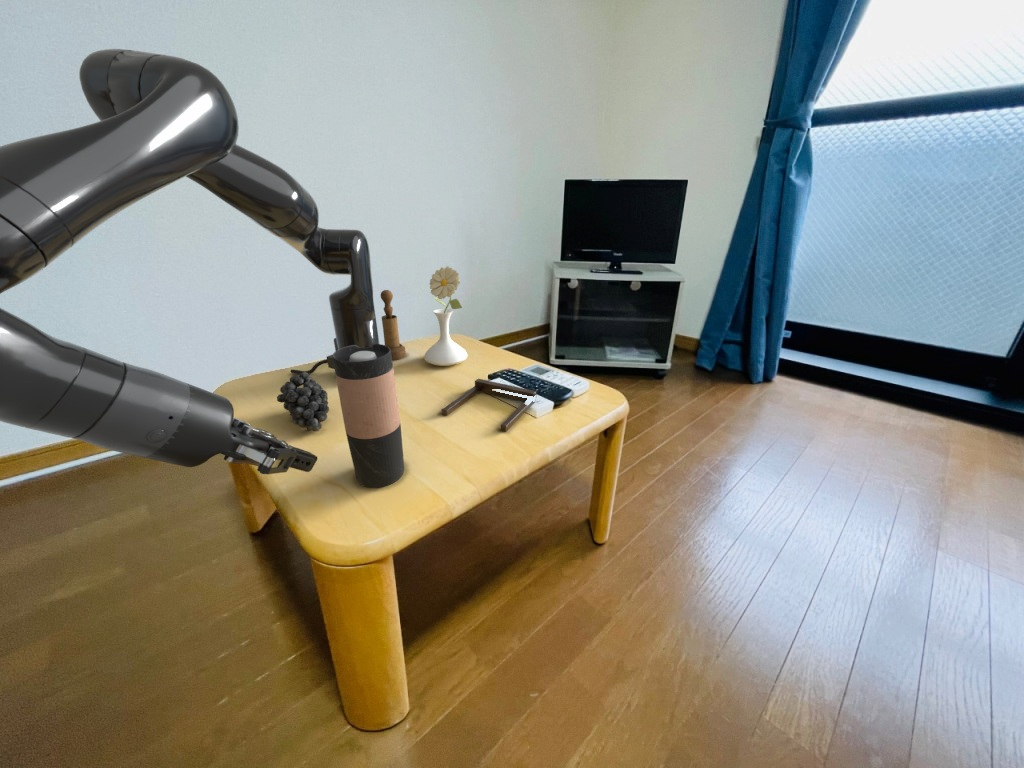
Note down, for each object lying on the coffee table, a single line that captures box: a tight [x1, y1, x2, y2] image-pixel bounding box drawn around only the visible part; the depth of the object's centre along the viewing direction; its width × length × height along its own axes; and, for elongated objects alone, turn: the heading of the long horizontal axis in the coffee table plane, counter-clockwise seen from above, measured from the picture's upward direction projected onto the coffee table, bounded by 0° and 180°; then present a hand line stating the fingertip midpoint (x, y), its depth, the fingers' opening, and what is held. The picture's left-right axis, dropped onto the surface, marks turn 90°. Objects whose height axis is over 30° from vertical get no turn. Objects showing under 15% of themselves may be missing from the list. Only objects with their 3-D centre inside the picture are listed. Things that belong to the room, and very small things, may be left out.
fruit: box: [276, 372, 330, 432], centre depth 73 cm, size 9×8×15 cm
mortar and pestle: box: [380, 289, 407, 361], centre depth 104 cm, size 7×6×18 cm
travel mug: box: [332, 343, 405, 489], centre depth 57 cm, size 8×8×20 cm
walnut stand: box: [441, 378, 537, 433], centre depth 81 cm, size 14×14×2 cm
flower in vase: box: [423, 265, 468, 367], centre depth 99 cm, size 13×11×25 cm
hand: (311, 462), depth 51 cm, fingers closed
